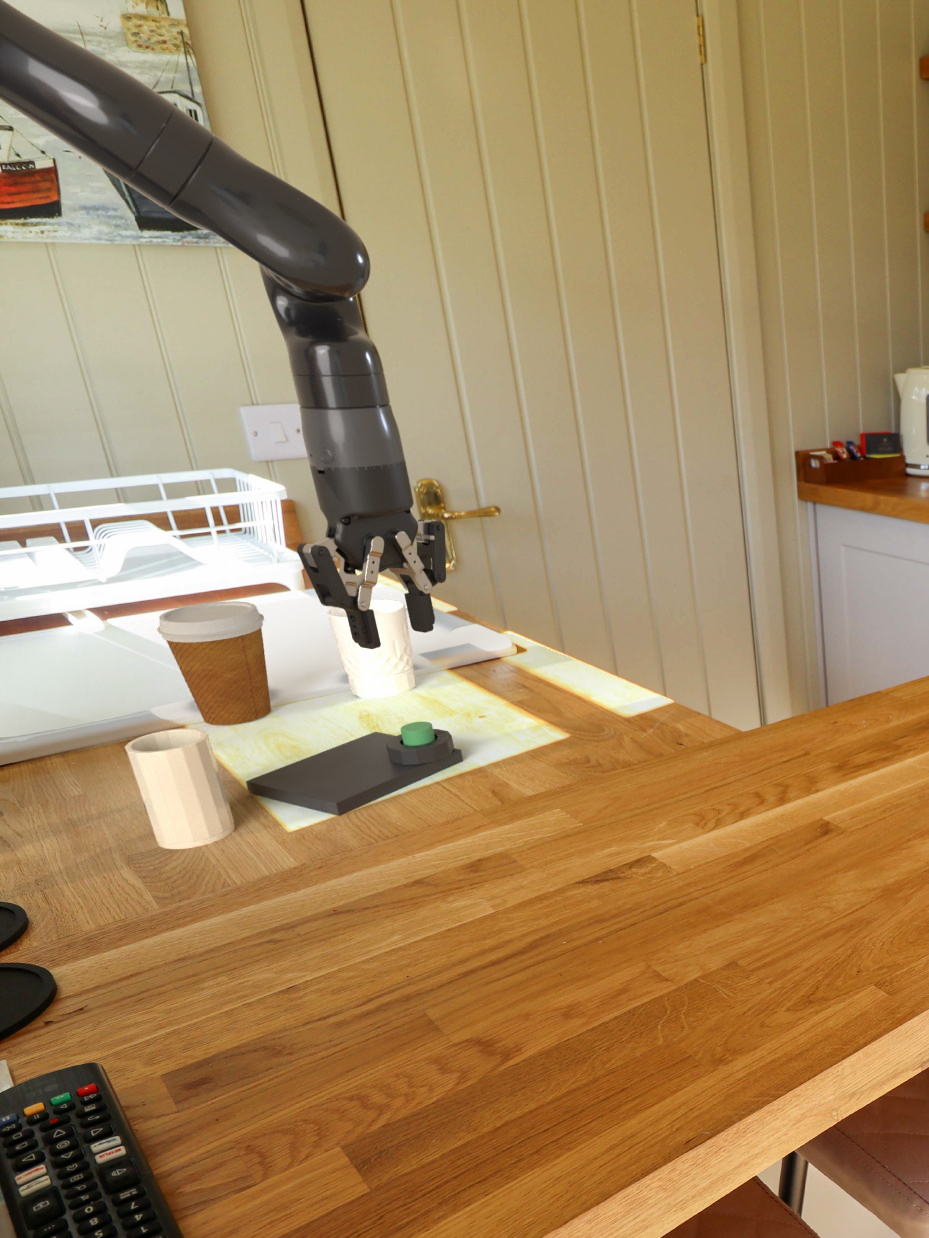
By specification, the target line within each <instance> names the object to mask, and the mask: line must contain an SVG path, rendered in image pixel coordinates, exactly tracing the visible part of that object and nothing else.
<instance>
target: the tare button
mask: <svg viewBox="0 0 929 1238" xmlns="http://www.w3.org/2000/svg"><path fill="white" fill-rule="evenodd" d="M433 729H434V726H433V724H432V723H431V722H429V721H413V722H409V723H407V724H406V723H405V724H404V725H402V726H401V727H400V734H402V738H403V743H404V745H406V746H419V745H423V744H428V743H431V742H433V741H435V736H434V731H433Z"/></svg>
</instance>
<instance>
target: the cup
mask: <svg viewBox="0 0 929 1238" xmlns="http://www.w3.org/2000/svg"><path fill="white" fill-rule="evenodd" d="M124 750H125V753H126V756H127V759H128V762H129V765H130V767H131V771H132V775H133V777H134V779H135V783H136V785H137V789H138V791H139V794H140V799H141V801H142V804H143V806H144V810H145V812H146V815H147V818H148V822H149V824H150V827H151V830H152V833H153V837H154V838H155V840H156V844H157V845H158V847H160V848H162V849H167V850H184V849H192V848H197V847H202V846H206V845H209V844H211V843H215V842H218V841H220V840H222V839H224V838H226V837H228V836H229V835H230V834H232V833H233V832H234V831H235V828H236V824H235V820H234V817H233V813H232V810H231V807H230V802H229V800H228V797H227V793H226V789H225V786H224V783H223V780H222V777H221V773H220V770H219V767H218V764H217V759H216V756H215V753H214V750H213V747H212V743H211V741H210V736H209V734H208V732H207V731H206V730H204V729H199V728H190V727H188V728H187V727H185V728H174V729H165V730H160V731H157V732H152V733H148V734H145V735H142V736H139V737H137V738H135V739H133V740H131V741H129V742H127V744H126V745H125V746H124Z"/></svg>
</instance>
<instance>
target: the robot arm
mask: <svg viewBox="0 0 929 1238" xmlns="http://www.w3.org/2000/svg"><path fill="white" fill-rule="evenodd" d="M0 101H2V102H3V103H5V104H6V105H8V106H9V107H10V108H12V109H14V110H16V111H17V112H18V113H20V114H22V115H23V116H24V117H26V118H27V119H29V120H30V121H32V122H34V123H35V124H36V125H38V126H39V127H40V128H42V129H44V130H46V131H47V132H48V133H50V134H51V135H53V136H54V137H56V138H57V139H59V140H60V141H62V142H63V143H65V144H66V145H67V146H69V147H71V148H72V149H73V150H75V151H76V152H78V153H80V154H81V155H82V156H84V157H86V158H87V159H89V160H90V161H92V162H93V163H94V164H96V165H98V166H99V167H101V168H102V169H103V170H105V171H106V172H108V173H109V174H111V175H113V176H114V177H115V178H117V179H118V180H120V181H121V182H123V183H125V184H126V185H127V186H129V187H130V188H131V189H134V190H135V191H136V192H138V193H139V194H141V195H143V196H144V197H145V198H147V199H149V201H152V202H153V203H155V204H156V205H158V206H159V207H161V208H164V210H166V211H167V212H169V213H170V214H172V215H173V216H175V217H177V218H179V219H180V220H182V221H184V222H186V223H188V224H190V225H191V226H193V227H196V228H198V229H200V230H204V231H207V232H209V233H212V234H213V235H216V236H217V237H219V238H221V239H222V240H224V241H225V242H226V243H228V244H229V245H231V246H233V247H234V248H236V249H237V250H238V251H240V252H242V253H243V254H245V255H246V256H247V257H249V258H251V259H252V260H254V261H255V262H257V264H258V269H259V273H260V276H261V281H262V283H263V286H264V290H265V292H266V293H265V294H266V296H267V298H268V301H269V304H270V307H271V309H272V310H271V311H272V313H273V314H274V317H275V321H276V323H277V325H278V328H279V331H280V333H281V336H282V338H283V340H284V343H285V347H286V350H287V357H288V364H289V368H290V374H291V378H292V382H293V386H294V390H295V394H296V399H297V404H298V406H299V413H300V420H301V421H300V422H301V433H302V439H303V443H304V447H305V450H306V455H307V459H308V463H309V464H308V465H309V468H310V473H311V476H312V481H313V485H314V489H315V493H316V497H317V501H318V506H319V509H320V511H321V512H322V514H323V516H324V517H325V520H326V523H327V527H326V531H325V537H324V538H322V539H319V540H318V541H315V542H313V543H303V542H302V543H299V544H298V545H297V547H296V552H297V554H298V557H299V559H300V561H301V563H302V565H303V568H304V570H305V572H306V574H307V576H308V579H309V581H310V583H311V585H312V588H313V590H314V591H315V593H316V596H317V599H318V600H319V602H320V604H321V605H322V606H324V607H331V608H334V607H338V608H342V609H344V610H345V612H346V614H347V618H348V623H349V627H350V631H351V635H352V639H353V640H354V642H355V643H358V645H359V646H360V647H362V648H367V649H375V648H378V647H380V646H381V642H380V638H379V633H378V629H377V624H376V620H375V615H374V611H373V610H372V609H369V607H370V602H371V600H372V593H373V588H374V587H376V585H377V584H378V578H379V573H382V572H384V571H386V570H388V571H390V572H391V573H393V574H394V575H395V576H396V578H397V579H398V580H399V583H400V584H401V586H402V587H403V589H404V590H405V591H407V592H406V593H405V592H404V593H403V596H404V599H405V604H406V605H405V606H406V609H407V614H408V618H409V623H410V627H411V629H412V630H413V631H415V632H418V633H425V634H427V633H429V632H432V631H434V628H435V627H434V625H435V622H436V616H435V611H434V606H433V601H432V597H431V593H432V591H433V588H434V587H435V586H436V585H438V584H443V583H444V582H446V580H447V556H446V555H447V552H446V551H447V550H446V549H447V547H446V525H445V523H444V522H442V521H441V520H432V519H423V518H419V519H418V520H417V519H416V518H415V517H414V515H413V513H412V512H411V508H413V506H414V502H415V501H414V497H413V492H412V487H411V483H410V482H411V481H410V478H409V473H408V467H407V462H406V458H405V451H404V448H403V444H402V438H401V434H400V429H399V425H398V423H397V420H396V417H395V415H394V411H393V409H392V405H391V404H390V403H391V399H390V395H389V389H388V385H387V380H386V374H385V370H384V366H383V362H382V358H381V355H380V353H379V350H378V348H377V346H376V345H375V343H374V342H373V340H372V339H371V338H370V337H369V336H368V334H367V333H366V330H365V327H364V323H363V318H362V315H361V311H360V307H359V303H358V299H357V295H358V294H360V293H361V292H362V291H363V290H364V288H365V287H366V285H367V284H368V282H369V279H370V275H371V266H372V265H371V259H370V255H369V252H368V250H367V246H366V245H365V243H364V242H363V240H362V238H361V237H360V235H358V233H357V231H355V230H354V229H353V227H351V225H349V224H348V223H347V222H346V221H345V220H344V219H343V218H342V217H340V216H339V215H338V214H336V213H335V212H334V211H332V210H331V209H329V208H328V207H326V206H325V205H323V204H322V203H321V202H319V201H317V200H316V199H314V198H313V197H311V196H309V195H308V194H307V193H305V192H304V191H302V190H300V189H298V188H297V187H295V186H294V185H292V184H290V183H288V182H287V181H285V180H283V179H282V178H280V177H279V176H277V175H275V174H274V173H272V172H270V171H269V170H267V169H265V168H263V167H261V166H259V165H258V164H256V163H254V162H253V161H251V160H249V159H247V157H245V156H244V155H242V154H241V153H240V152H238V151H237V150H235V149H234V148H233V147H232V146H230V145H229V144H228V143H227V142H225V140H224V139H222V138H221V137H219V136H218V135H217V134H214V133H213V132H212V131H211V130H210V129H208V128H207V127H206V126H204V125H203V124H202V123H200V122H199V121H198V120H195V119H194V118H193V117H191V116H190V115H189V114H188V113H186V112H185V111H183V110H182V109H181V108H180V107H178V106H177V105H175V104H174V103H173V102H172V101H170V100H169V99H167V98H166V97H164V96H162V95H161V94H160V93H158V92H157V91H155V90H154V89H152V88H151V87H149V86H148V85H146V84H145V83H144V82H142V81H141V80H139V79H137V78H136V77H134V76H133V75H131V74H130V73H128V72H126V71H125V70H123V69H121V68H120V67H118V66H116V65H114V64H113V63H111V62H110V61H108V60H106V59H104V58H103V57H101V56H99V55H97V54H96V53H94V52H92V51H90V50H88V49H86V48H85V47H83V46H82V45H79V44H78V43H75V42H74V41H72V40H71V39H68V38H67V37H65V36H64V35H61V34H60V33H58V32H56V31H54V30H53V29H50V28H49V27H48V26H46V25H44V24H42V23H40V22H39V21H37V20H35V19H33V18H32V17H30V16H29V15H27V14H26V13H23V12H22V11H21V10H19V9H17V8H16V7H14V6H13V5H11V4H10V3H8V2H7V1H6V0H0ZM415 540H416V550H415V549H414V547H413V546H414V542H415ZM336 553H337V555H339V556H340V559H339V560H340V561H339V569H338V568H337V566H336V563H337V562H338V557H337V556H335V554H336ZM356 571H358V572H361V573H360V574H357V572H356Z"/></svg>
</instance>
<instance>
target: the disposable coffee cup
mask: <svg viewBox="0 0 929 1238" xmlns="http://www.w3.org/2000/svg"><path fill="white" fill-rule="evenodd" d="M158 619H159V625H158V627H157V628H156V631H157V633H158V634H159V635H161V637H162V638H163V639H164V640H165V641H166V643H167V646H168V648H169V649H170V652H171V653H172V656H173V658H174V660H175V662H176V664H177V667H178V669H179V671H180V673H181V675H182V677H183V679H184V682H185V683H186V685H187V688H188V690H189V692H190V693H191V696H192V698H193V700H194V703H195V704H196V707H197V709H198V711H199V714H200V716H201V717H202V719H203V722H204V723H205V724H208V725H211V726H233V725H241V724H245V723H250V722H254V721H256V720H259V719H262V718H264V717H267V716H268V715H269V714H270V713H271V712H272V707H271V706H272V705H271V698H270V689H269V688H270V687H269V681H268V671H267V665H266V655H265V646H264V638H263V630H262V629H263V626H264V621H265V616H264V615H263V614H262V613H260V611H259V609H258V607H257V606H256V605H255V604H254V603H252V602H247V601H235V600H232V601H213V602H204V603H197V604H190V605H186V606H180V607H177V608H173V609H171V610H168V611H166V612H163V613H161V615H160V616H159V618H158Z"/></svg>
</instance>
